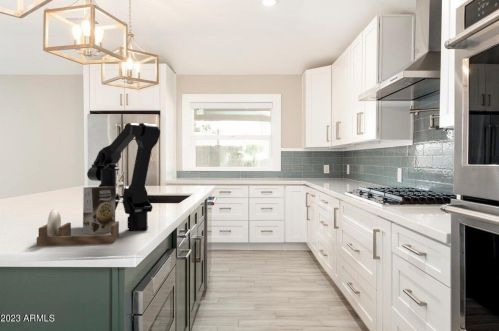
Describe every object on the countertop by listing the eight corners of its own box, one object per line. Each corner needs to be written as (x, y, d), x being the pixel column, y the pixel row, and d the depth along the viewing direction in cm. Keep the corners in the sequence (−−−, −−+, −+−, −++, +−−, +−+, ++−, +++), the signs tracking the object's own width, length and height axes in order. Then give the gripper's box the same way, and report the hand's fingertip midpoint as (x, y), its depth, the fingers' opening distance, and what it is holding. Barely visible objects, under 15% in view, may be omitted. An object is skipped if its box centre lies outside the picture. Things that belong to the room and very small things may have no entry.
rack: (118, 236, 121) (118, 206, 121) (113, 243, 111) (113, 210, 111) (49, 238, 117) (49, 207, 117) (36, 245, 107) (36, 212, 107)
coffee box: (93, 235, 123) (93, 187, 123) (82, 233, 126) (82, 187, 126) (116, 230, 131) (116, 186, 131) (104, 229, 134) (104, 185, 134)
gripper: (92, 180, 152) (92, 217, 152) (80, 183, 133) (80, 225, 134) (120, 180, 154) (120, 216, 154) (112, 182, 136) (112, 224, 136)
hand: (108, 220), depth 144 cm, fingers open, 9 cm apart
